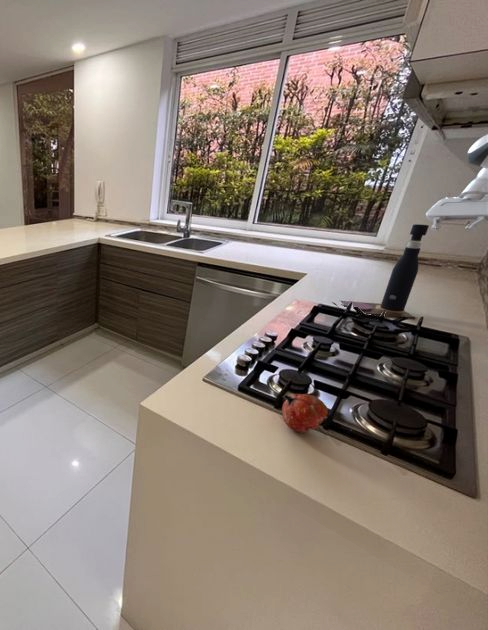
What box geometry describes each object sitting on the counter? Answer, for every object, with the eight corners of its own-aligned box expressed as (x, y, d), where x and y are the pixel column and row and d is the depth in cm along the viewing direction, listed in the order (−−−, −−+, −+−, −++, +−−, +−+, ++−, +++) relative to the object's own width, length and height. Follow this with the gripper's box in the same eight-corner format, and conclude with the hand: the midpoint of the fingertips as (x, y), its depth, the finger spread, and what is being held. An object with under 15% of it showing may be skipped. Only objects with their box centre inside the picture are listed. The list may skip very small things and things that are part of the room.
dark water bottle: (399, 307, 126) (428, 224, 115) (406, 312, 120) (438, 226, 110) (377, 304, 128) (404, 223, 118) (384, 310, 123) (412, 225, 112)
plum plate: (364, 304, 130) (365, 302, 130) (376, 311, 122) (377, 309, 122) (337, 302, 133) (337, 300, 133) (347, 309, 125) (348, 307, 125)
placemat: (391, 306, 130) (392, 303, 130) (414, 319, 118) (415, 315, 117) (331, 302, 136) (332, 299, 135) (346, 313, 123) (347, 310, 123)
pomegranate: (312, 429, 68) (273, 391, 70) (348, 416, 63) (305, 375, 65) (305, 453, 63) (264, 411, 66) (343, 441, 58) (297, 396, 60)
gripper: (438, 191, 122) (411, 224, 124) (519, 186, 102) (486, 224, 104) (446, 202, 124) (419, 234, 125) (528, 199, 104) (495, 236, 106)
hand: (450, 229), depth 115 cm, fingers open, 8 cm apart
